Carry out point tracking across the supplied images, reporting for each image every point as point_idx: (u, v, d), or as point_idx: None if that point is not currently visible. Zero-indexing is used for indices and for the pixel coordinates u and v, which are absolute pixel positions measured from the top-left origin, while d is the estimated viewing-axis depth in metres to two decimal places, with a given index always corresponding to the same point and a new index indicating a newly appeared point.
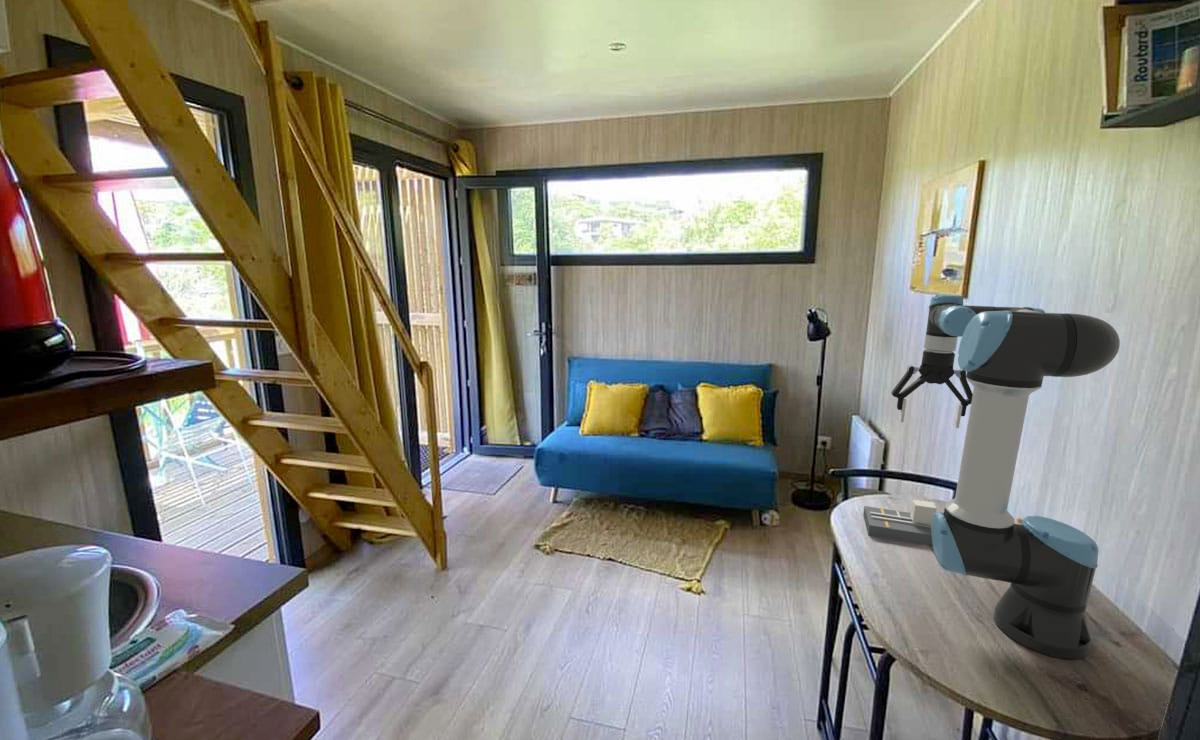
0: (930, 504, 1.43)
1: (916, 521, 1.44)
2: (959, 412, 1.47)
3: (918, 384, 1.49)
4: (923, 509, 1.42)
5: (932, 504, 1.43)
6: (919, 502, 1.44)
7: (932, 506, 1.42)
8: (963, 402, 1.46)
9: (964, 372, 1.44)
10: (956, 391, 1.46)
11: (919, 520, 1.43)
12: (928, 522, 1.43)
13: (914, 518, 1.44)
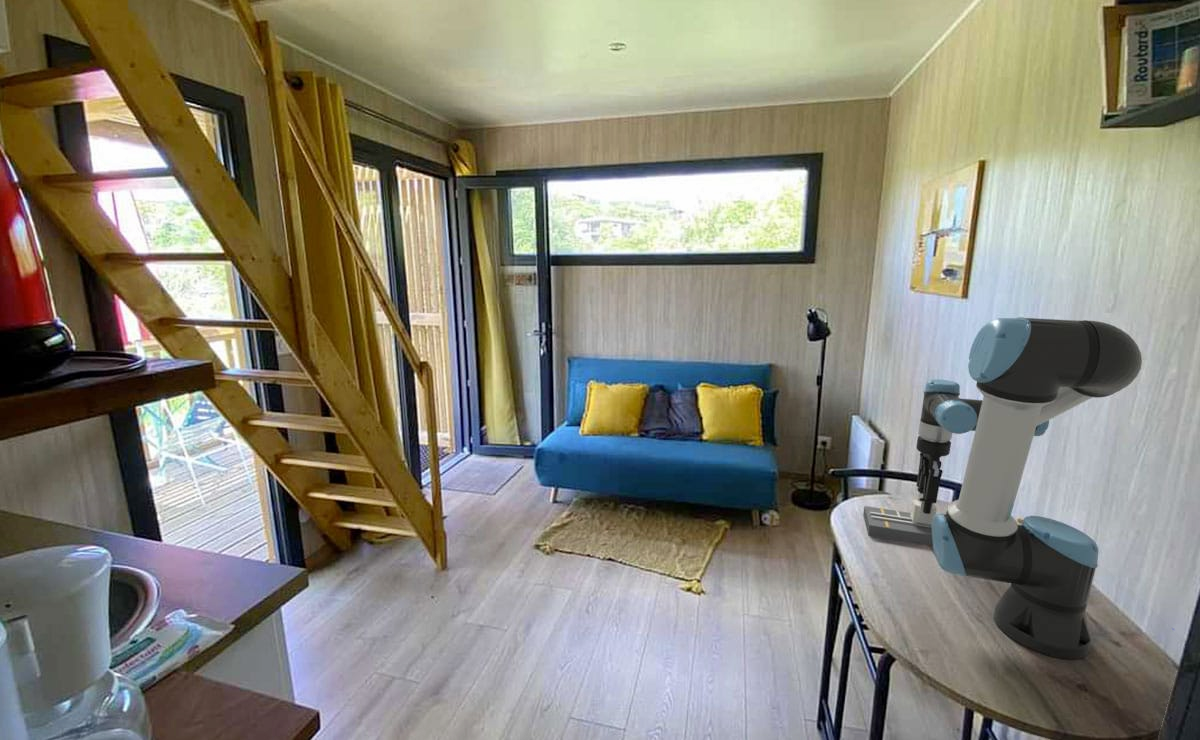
0: None
1: (916, 521, 1.44)
2: (920, 506, 1.42)
3: (921, 472, 1.44)
4: None
5: None
6: (919, 502, 1.44)
7: None
8: (923, 497, 1.41)
9: (930, 471, 1.36)
10: (924, 484, 1.40)
11: None
12: None
13: (914, 518, 1.44)
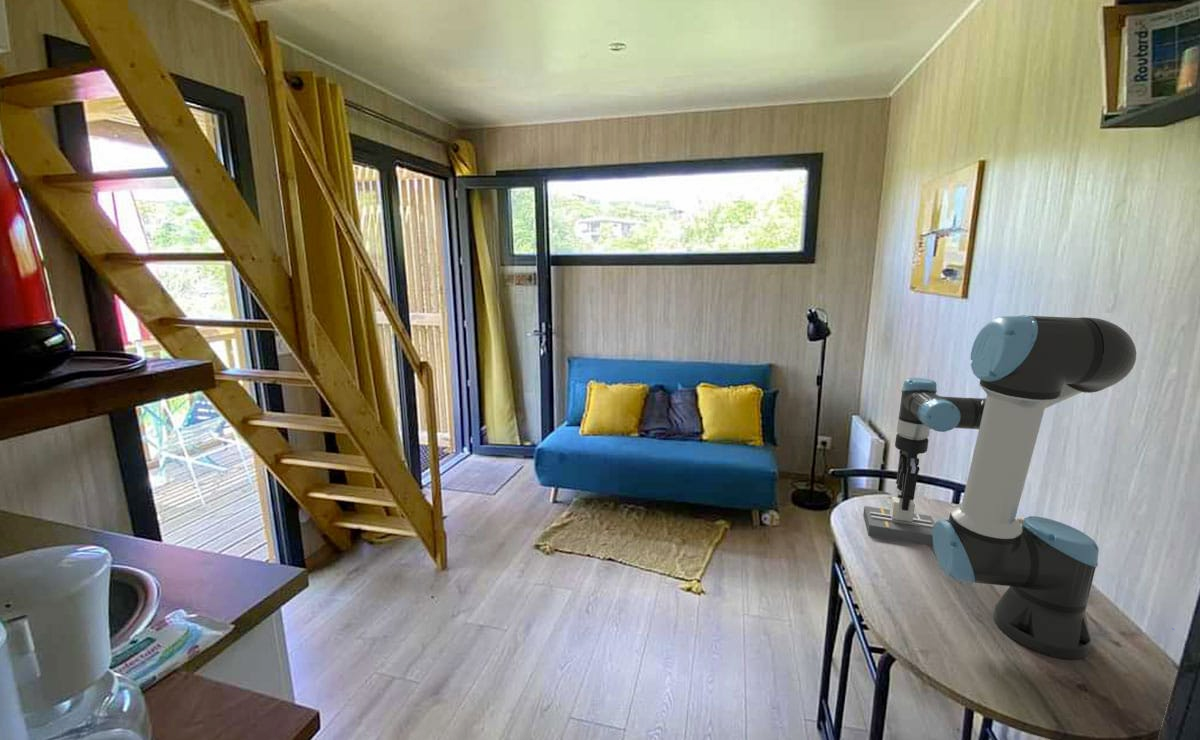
0: None
1: (895, 518, 1.45)
2: None
3: (900, 469, 1.46)
4: None
5: (911, 501, 1.45)
6: (898, 499, 1.46)
7: (911, 503, 1.44)
8: (901, 494, 1.43)
9: (907, 468, 1.38)
10: (903, 481, 1.42)
11: None
12: None
13: (893, 515, 1.45)
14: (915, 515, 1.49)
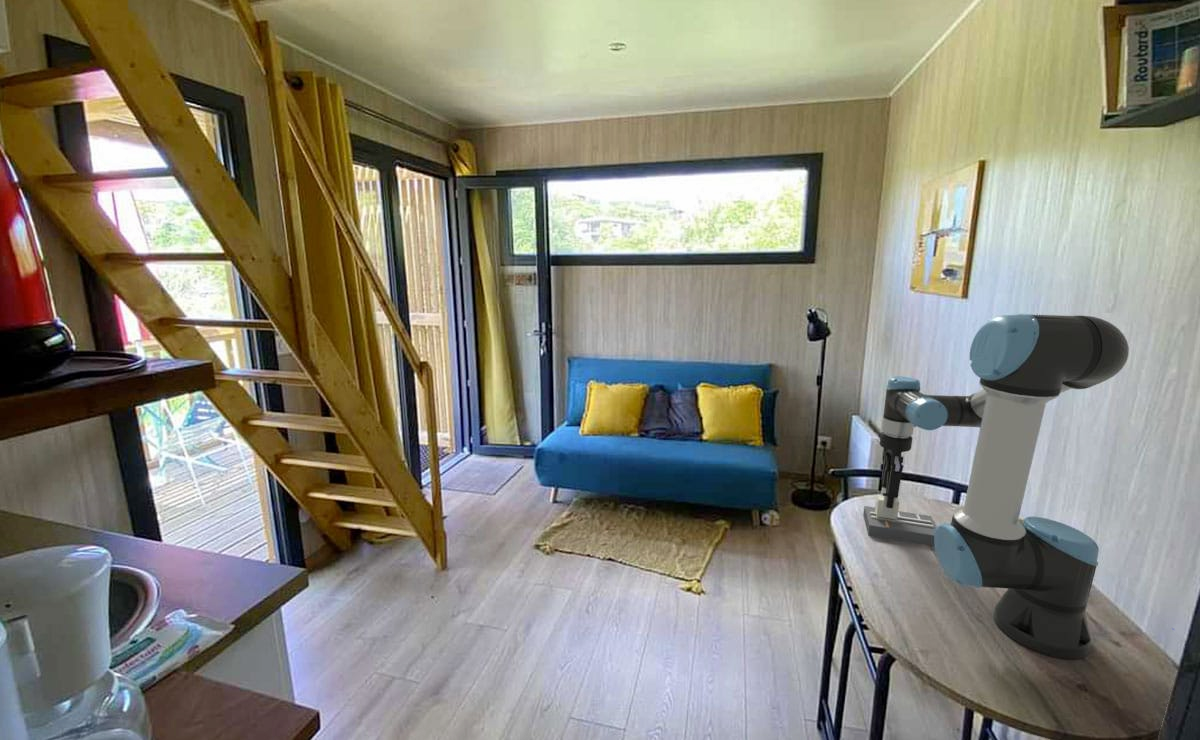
0: None
1: (880, 516, 1.47)
2: (883, 501, 1.45)
3: (885, 467, 1.47)
4: None
5: None
6: (883, 497, 1.47)
7: (895, 500, 1.45)
8: (886, 491, 1.44)
9: (892, 466, 1.39)
10: (887, 479, 1.43)
11: None
12: None
13: (878, 512, 1.47)
14: (915, 515, 1.49)
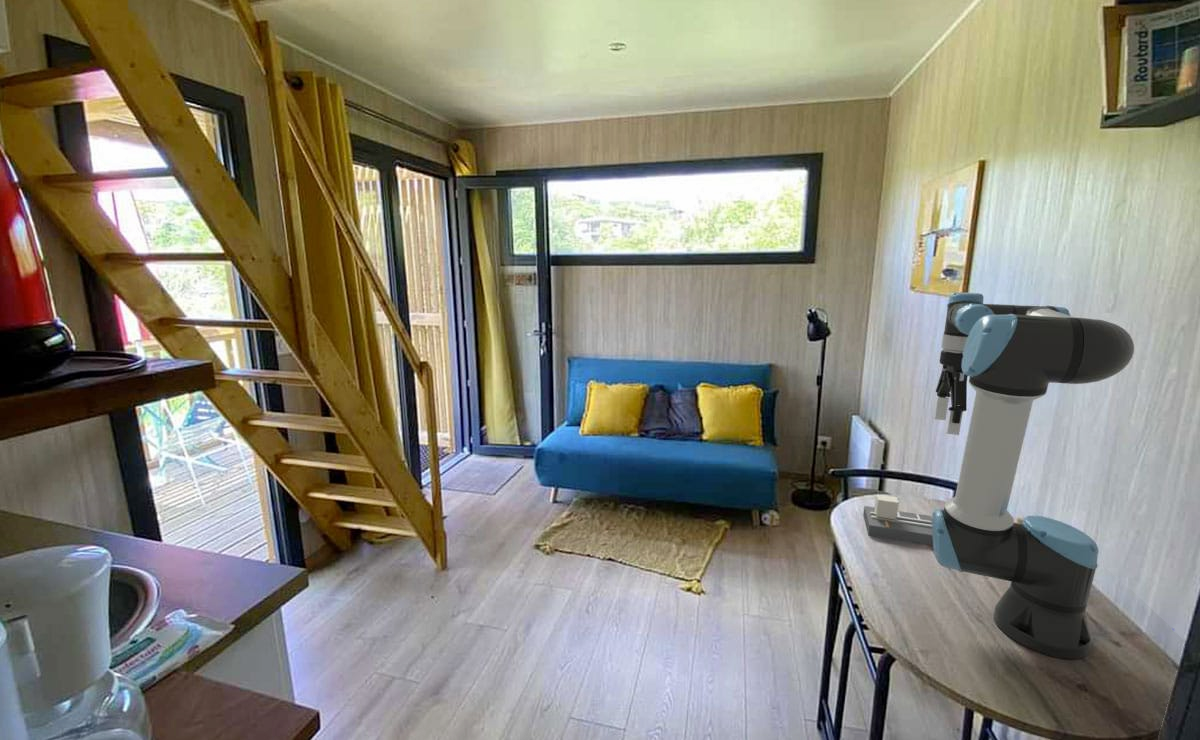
0: (893, 499, 1.46)
1: (879, 516, 1.47)
2: (949, 416, 1.40)
3: (943, 382, 1.48)
4: (886, 504, 1.45)
5: (895, 499, 1.46)
6: (882, 497, 1.47)
7: (895, 500, 1.45)
8: (952, 407, 1.38)
9: (955, 374, 1.37)
10: (951, 394, 1.40)
11: (882, 514, 1.46)
12: (891, 516, 1.46)
13: (877, 512, 1.47)
14: (915, 515, 1.49)
